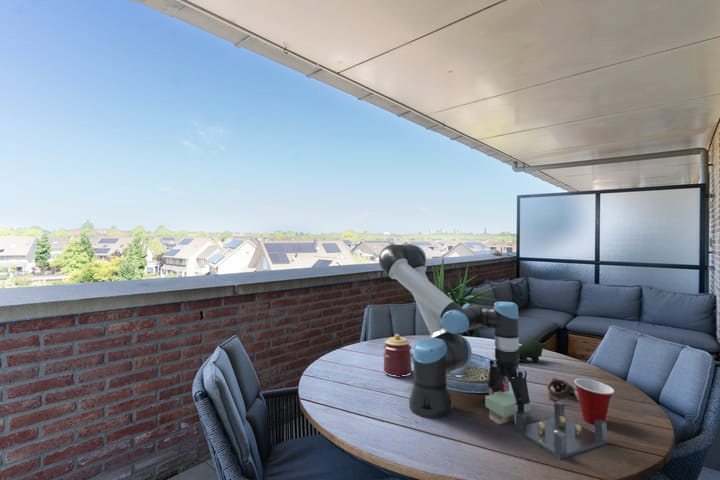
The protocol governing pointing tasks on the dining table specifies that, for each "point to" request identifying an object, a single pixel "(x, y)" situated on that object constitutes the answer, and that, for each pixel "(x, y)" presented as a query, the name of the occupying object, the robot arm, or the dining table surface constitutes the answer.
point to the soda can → (503, 387)
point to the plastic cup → (593, 399)
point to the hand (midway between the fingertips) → (508, 416)
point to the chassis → (561, 433)
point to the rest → (499, 418)
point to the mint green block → (504, 403)
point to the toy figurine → (530, 350)
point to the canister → (397, 356)
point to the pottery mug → (558, 393)
